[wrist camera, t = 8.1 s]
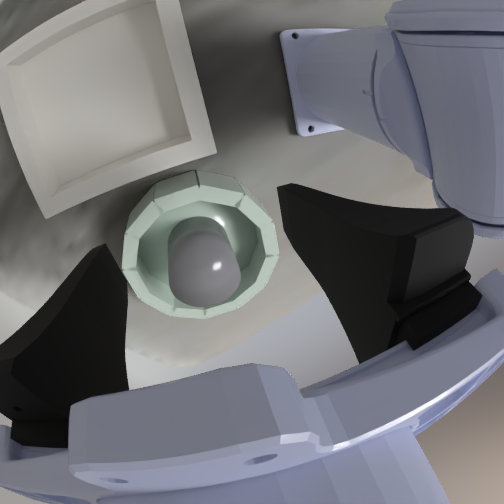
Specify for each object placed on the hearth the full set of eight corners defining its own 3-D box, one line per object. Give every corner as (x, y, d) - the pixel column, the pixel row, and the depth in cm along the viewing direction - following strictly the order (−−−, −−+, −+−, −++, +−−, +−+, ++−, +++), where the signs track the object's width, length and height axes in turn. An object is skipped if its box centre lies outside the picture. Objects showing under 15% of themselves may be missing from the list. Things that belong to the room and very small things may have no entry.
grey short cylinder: (212, 205, 20) (223, 237, 16) (237, 252, 23) (251, 288, 19) (156, 234, 20) (154, 270, 16) (185, 277, 23) (190, 316, 19)
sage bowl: (251, 153, 19) (263, 165, 17) (274, 270, 26) (285, 292, 23) (104, 202, 18) (95, 221, 16) (159, 307, 25) (160, 331, 22)
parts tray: (171, -15, 11) (171, -29, 9) (211, 143, 18) (217, 153, 16) (10, 60, 10) (-11, 61, 8) (58, 202, 17) (45, 219, 15)
